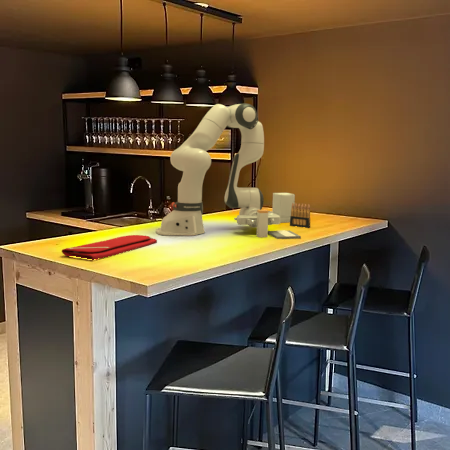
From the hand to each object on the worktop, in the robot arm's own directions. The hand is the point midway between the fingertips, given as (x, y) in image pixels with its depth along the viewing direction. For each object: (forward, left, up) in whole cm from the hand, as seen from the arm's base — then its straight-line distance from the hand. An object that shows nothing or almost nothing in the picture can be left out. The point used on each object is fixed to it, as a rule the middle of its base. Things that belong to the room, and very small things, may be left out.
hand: (262, 222), depth 257 cm
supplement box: (+24, +43, -7) cm, 50 cm away
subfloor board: (+10, +1, -7) cm, 12 cm away
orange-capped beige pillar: (0, +1, -7) cm, 7 cm away
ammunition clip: (+27, +25, -7) cm, 37 cm away
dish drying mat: (-67, -19, -7) cm, 70 cm away
